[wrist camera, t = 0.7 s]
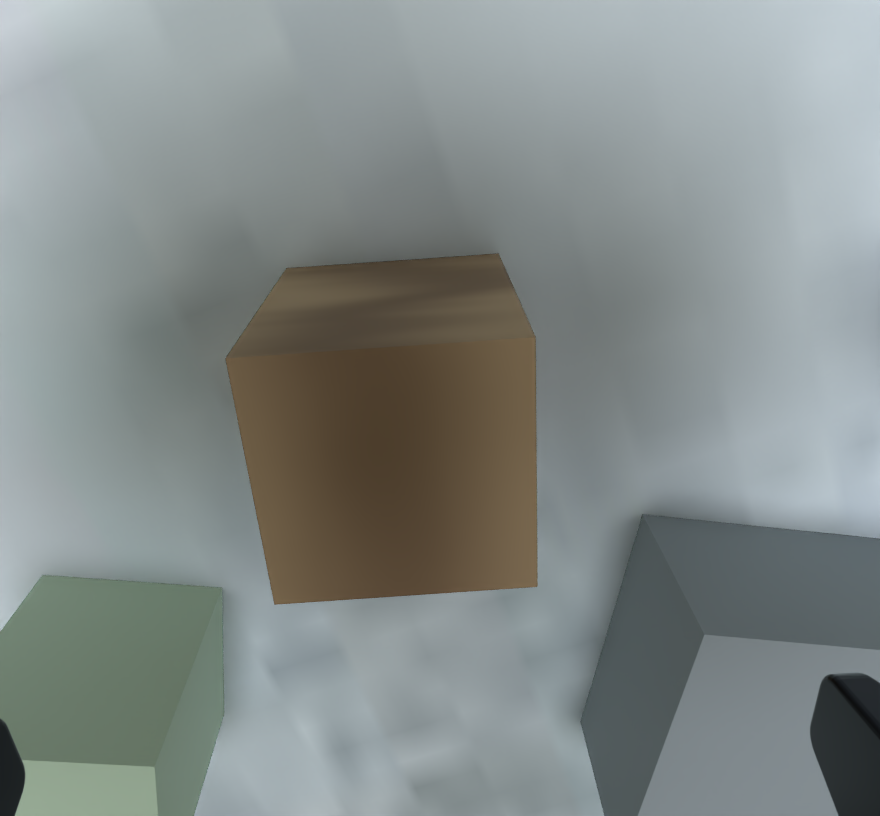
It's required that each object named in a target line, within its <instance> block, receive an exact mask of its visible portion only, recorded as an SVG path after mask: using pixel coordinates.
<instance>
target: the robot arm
mask: <svg viewBox="0 0 880 816" xmlns="http://www.w3.org/2000/svg"><path fill="white" fill-rule="evenodd" d="M810 738H811V743H812V747H813V750H814V753H815V756H816V758H817V761H818V764H819V766H820V769H821V772H822V774H823V777H824V779H825V782H826V785H827V787H828V790H829V793H830V795H831V798H832V800H833V803H834V806H835V808H836V811H837V813H838V816H880V683H879V682H878V681H876V680H875V679H874V678H872V677H870V676H868V675H866V674H863V673H839V674H829V675H826V676H825V677H824V678H823V679H822V681H821V684H820V688H819V692H818V696H817V700H816V704H815V708H814V712H813V716H812V720H811V724H810ZM24 785H25V767H24V764H23V761H22V759H21V757H20V754H19V752H18V750H17V747H16V745H15V743H14V740H13V738H12V735H11V733H10V731H9V728H8V726H7V724H6V723H5V722H4V721H3V720H2V719H0V816H15V814H16V811H17V808H18V805H19V802H20V799H21V796H22V793H23V789H24Z"/></svg>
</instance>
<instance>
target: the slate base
mask: <svg viewBox="0 0 880 816" xmlns="http://www.w3.org/2000/svg"><path fill="white" fill-rule="evenodd" d="M839 673H863V674H866V675H868V676H870V677H872V678H874V679H875V680H876V681H878V682H879V683H880V539H877V538H868V537H858V536H848V535H838V534H829V533H819V532H809V531H800V530H790V529H780V528H771V527H761V526H751V525H741V524H732V523H722V522H712V521H703V520H693V519H683V518H674V517H664V516H654V515H644V514H642V517H641V521H640V524H639V528H638V531H637V534H636V538H635V541H634V544H633V548H632V551H631V554H630V558H629V561H628V564H627V568H626V571H625V574H624V578H623V581H622V585H621V588H620V591H619V595H618V598H617V601H616V605H615V608H614V611H613V615H612V618H611V621H610V625H609V628H608V631H607V635H606V638H605V642H604V645H603V648H602V652H601V655H600V658H599V662H598V665H597V668H596V672H595V675H594V678H593V682H592V685H591V688H590V692H589V695H588V699H587V702H586V705H585V709H584V712H583V715H582V719H581V725H582V729H583V733H584V737H585V741H586V745H587V749H588V753H589V757H590V761H591V765H592V769H593V772H594V776H595V780H596V784H597V788H598V792H599V796H600V800H601V804H602V808H603V812H604V816H838V813H837V811H836V808H835V806H834V803H833V800H832V798H831V795H830V793H829V790H828V787H827V785H826V782H825V779H824V777H823V774H822V772H821V769H820V766H819V764H818V761H817V758H816V756H815V753H814V750H813V747H812V743H811V738H810V724H811V720H812V716H813V712H814V708H815V704H816V700H817V696H818V692H819V688H820V684H821V681H822V679H823V678H824V677H825V676H826V675H829V674H839Z"/></svg>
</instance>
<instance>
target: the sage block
mask: <svg viewBox="0 0 880 816" xmlns="http://www.w3.org/2000/svg"><path fill="white" fill-rule="evenodd" d="M223 716H224V680H223V615H222V588H219V587H205V586H191V585H177V584H163V583H149V582H134V581H120V580H106V579H92V578H78V577H64V576H50V575H42V577H41V578H40V579H39V581H38V582H37V583H36V585H35V586H34V587H33V589H32V590H31V591H30V593H29V594H28V595H27V597H26V598H25V599H24V601H23V602H22V603H21V605H20V606H19V608H18V609H17V610H16V612H15V613H14V614H13V616H12V617H11V618H10V620H9V621H8V622H7V624H6V625H5V626H4V628H3V629H2V630H1V632H0V719H2V720H3V721H4V722H5V723H6V724H7V726H8V728H9V731H10V733H11V735H12V738H13V740H14V743H15V745H16V747H17V750H18V752H19V754H20V757H21V759H22V761H23V764H24V767H25V785H24V789H23V793H22V796H21V799H20V802H19V805H18V808H17V811H16V814H15V816H194V813H195V810H196V806H197V803H198V800H199V796H200V793H201V790H202V786H203V783H204V779H205V776H206V773H207V769H208V766H209V763H210V759H211V756H212V753H213V749H214V746H215V743H216V739H217V736H218V733H219V729H220V726H221V723H222V719H223Z"/></svg>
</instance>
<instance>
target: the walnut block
mask: <svg viewBox="0 0 880 816" xmlns="http://www.w3.org/2000/svg"><path fill="white" fill-rule="evenodd" d="M225 359H226V364H227V369H228V374H229V379H230V384H231V389H232V394H233V399H234V404H235V409H236V414H237V419H238V424H239V429H240V434H241V439H242V444H243V449H244V454H245V459H246V464H247V469H248V474H249V479H250V484H251V489H252V494H253V499H254V504H255V509H256V514H257V519H258V524H259V529H260V534H261V539H262V544H263V549H264V554H265V559H266V564H267V569H268V574H269V579H270V584H271V590H272V595H273V600H274V605H275V604H290V603H305V602H319V601H334V600H349V599H364V598H379V597H393V596H408V595H423V594H438V593H452V592H467V591H482V590H497V589H512V588H526V587H537V464H536V337H535V335H534V333H533V330H532V328H531V326H530V324H529V321H528V319H527V317H526V315H525V312H524V310H523V308H522V306H521V303H520V301H519V299H518V296H517V294H516V292H515V290H514V287H513V285H512V283H511V281H510V278H509V276H508V274H507V272H506V269H505V267H504V265H503V263H502V260H501V258H500V256H499V254H485V255H471V256H456V257H442V258H427V259H412V260H398V261H383V262H369V263H354V264H340V265H325V266H311V267H296V268H286V270H285V271H284V273H283V274H282V275H281V277H280V278H279V280H278V281H277V283H276V284H275V286H274V287H273V289H272V290H271V292H270V293H269V295H268V296H267V298H266V299H265V301H264V302H263V304H262V305H261V306H260V308H259V309H258V311H257V312H256V314H255V315H254V317H253V318H252V320H251V321H250V323H249V324H248V326H247V327H246V329H245V330H244V332H243V333H242V335H241V336H240V338H239V339H238V340H237V342H236V343H235V345H234V346H233V348H232V349H231V351H230V352H229V354H228V355H227V357H226V358H225Z"/></svg>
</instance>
